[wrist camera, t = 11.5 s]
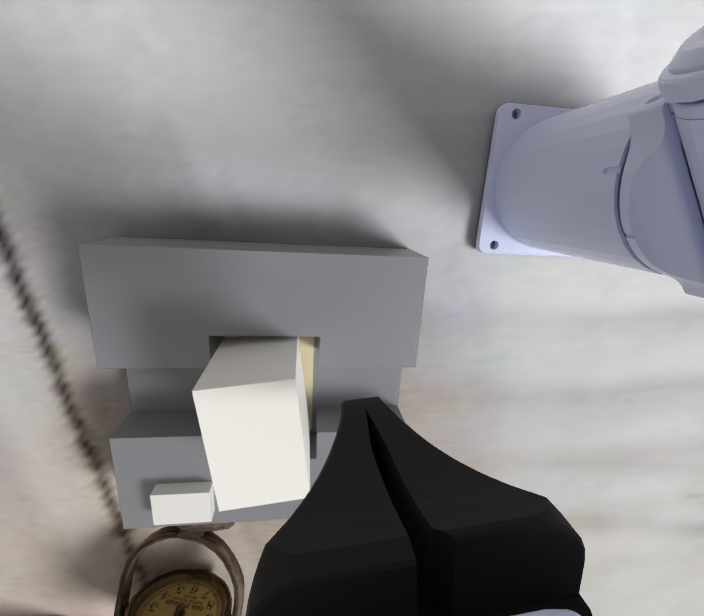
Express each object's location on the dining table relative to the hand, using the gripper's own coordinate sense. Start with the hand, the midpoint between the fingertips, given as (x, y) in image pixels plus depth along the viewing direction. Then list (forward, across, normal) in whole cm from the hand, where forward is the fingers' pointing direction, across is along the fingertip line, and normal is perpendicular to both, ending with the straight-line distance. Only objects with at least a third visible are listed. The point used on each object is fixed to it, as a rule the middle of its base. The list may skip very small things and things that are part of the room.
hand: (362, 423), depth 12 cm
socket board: (+10, +4, +2) cm, 11 cm away
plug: (+9, +4, +2) cm, 10 cm away
